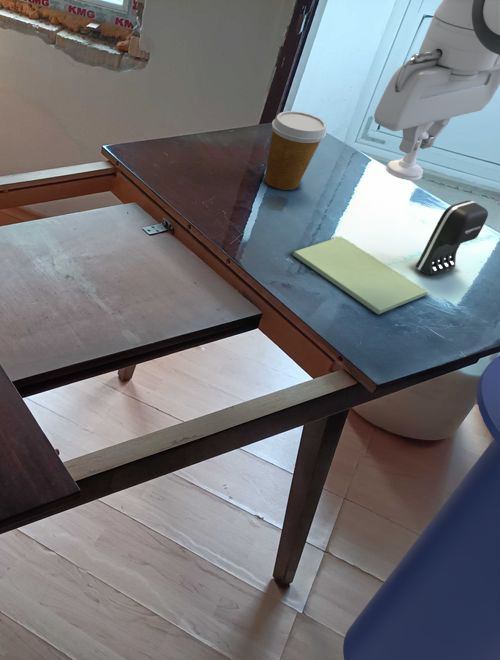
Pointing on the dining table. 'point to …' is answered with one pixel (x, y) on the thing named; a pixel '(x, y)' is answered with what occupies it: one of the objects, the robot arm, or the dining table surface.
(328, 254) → the mat
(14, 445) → the dining table surface
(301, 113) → the disposable coffee cup
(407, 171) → the chess piece
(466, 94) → the robot arm
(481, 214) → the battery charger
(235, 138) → the dining table surface
